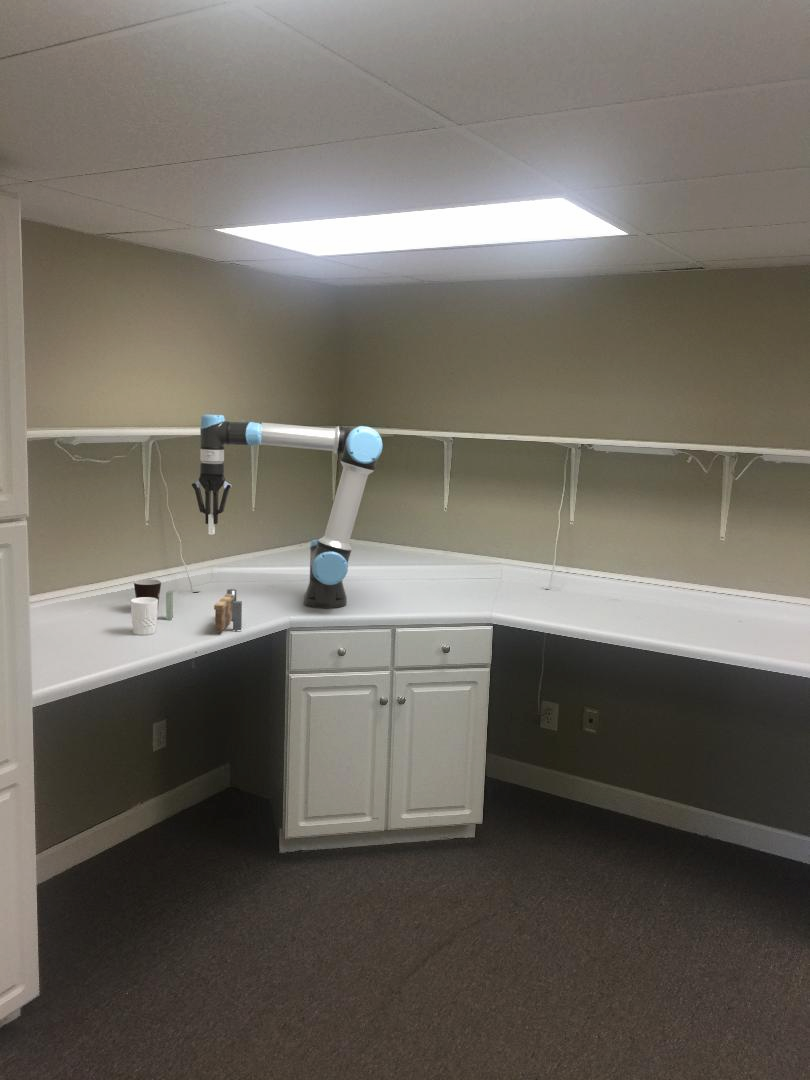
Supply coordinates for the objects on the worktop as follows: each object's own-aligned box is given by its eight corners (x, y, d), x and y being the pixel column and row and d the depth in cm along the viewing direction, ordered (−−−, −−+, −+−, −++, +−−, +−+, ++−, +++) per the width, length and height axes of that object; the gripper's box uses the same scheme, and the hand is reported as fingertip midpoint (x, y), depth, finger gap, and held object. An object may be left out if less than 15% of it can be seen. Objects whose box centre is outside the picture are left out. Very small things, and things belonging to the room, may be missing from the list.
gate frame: (245, 619, 281) (246, 589, 280) (240, 631, 267) (241, 599, 265) (167, 617, 279) (168, 587, 277) (158, 629, 264) (158, 597, 263)
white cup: (132, 636, 256) (132, 603, 254) (129, 629, 263) (129, 597, 261) (159, 634, 259) (159, 602, 257) (156, 628, 266) (156, 596, 264)
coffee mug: (153, 615, 281) (153, 585, 279) (129, 613, 282) (128, 583, 281) (169, 607, 292) (170, 578, 290) (146, 605, 294) (146, 576, 292)
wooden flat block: (225, 619, 277) (226, 594, 275) (233, 619, 277) (233, 594, 275) (213, 632, 261) (214, 605, 260) (221, 632, 261) (222, 606, 259)
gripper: (189, 462, 277) (188, 534, 281) (229, 464, 277) (228, 536, 281) (195, 460, 285) (194, 531, 288) (234, 462, 285) (233, 533, 288)
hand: (211, 533), depth 285 cm, fingers closed
